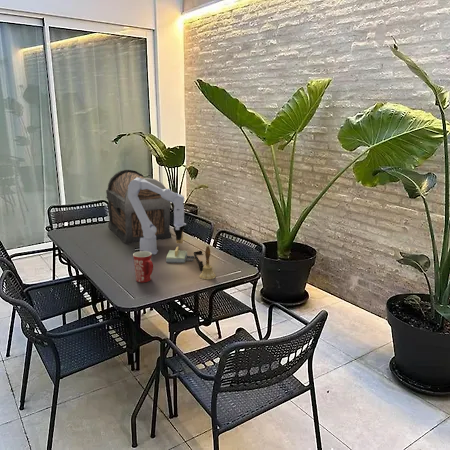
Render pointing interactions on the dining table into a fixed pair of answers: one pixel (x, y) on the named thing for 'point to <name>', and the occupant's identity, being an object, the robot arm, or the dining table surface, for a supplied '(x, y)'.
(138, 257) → the mug
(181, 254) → the lid
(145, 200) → the treasure chest
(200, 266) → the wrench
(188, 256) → the keeper
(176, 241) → the wooden block
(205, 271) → the hand bell
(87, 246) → the dining table surface
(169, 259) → the shallow grey tray
